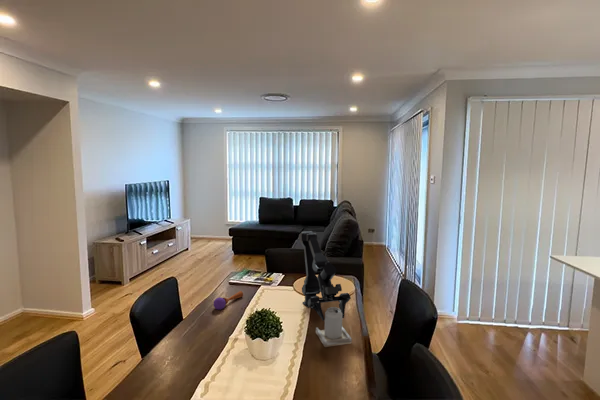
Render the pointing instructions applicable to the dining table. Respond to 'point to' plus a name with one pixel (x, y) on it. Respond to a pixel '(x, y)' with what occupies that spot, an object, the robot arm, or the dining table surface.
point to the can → (333, 323)
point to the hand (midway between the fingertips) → (333, 319)
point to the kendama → (225, 300)
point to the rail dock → (329, 342)
